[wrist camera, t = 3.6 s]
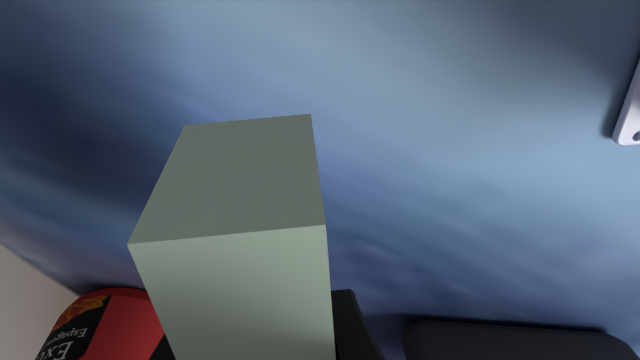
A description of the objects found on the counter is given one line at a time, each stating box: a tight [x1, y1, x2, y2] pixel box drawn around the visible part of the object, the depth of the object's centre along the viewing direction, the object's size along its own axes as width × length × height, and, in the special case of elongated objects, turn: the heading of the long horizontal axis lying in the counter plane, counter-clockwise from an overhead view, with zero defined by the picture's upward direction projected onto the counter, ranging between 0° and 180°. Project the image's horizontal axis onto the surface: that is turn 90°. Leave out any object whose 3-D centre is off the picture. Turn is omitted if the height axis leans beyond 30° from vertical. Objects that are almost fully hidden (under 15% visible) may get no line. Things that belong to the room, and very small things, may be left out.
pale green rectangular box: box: [127, 114, 336, 360], centre depth 11 cm, size 3×10×4 cm, turn 4°
